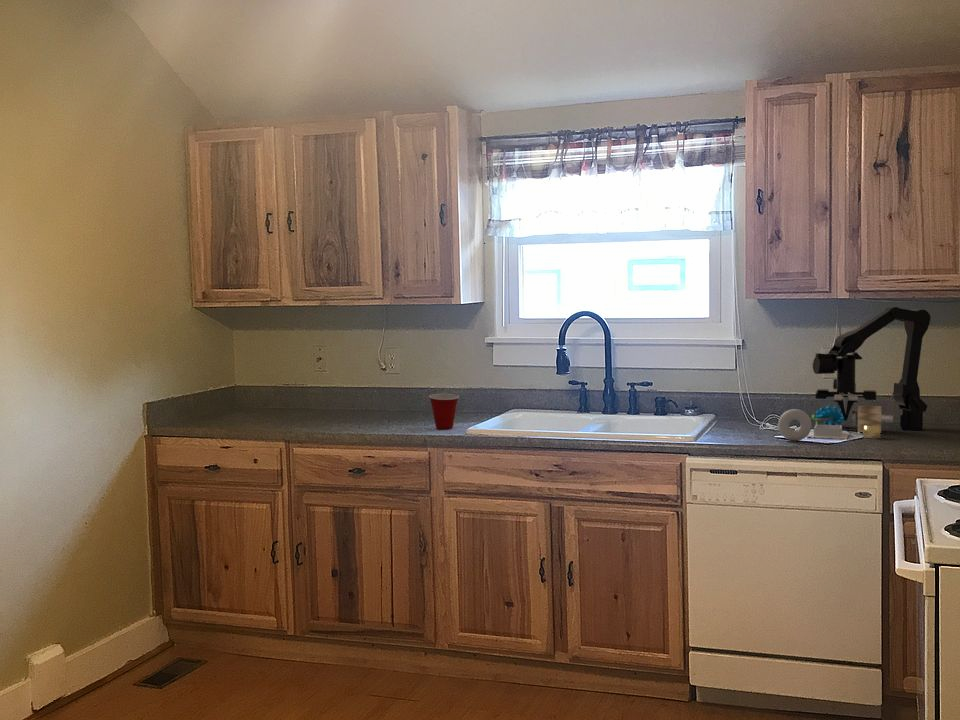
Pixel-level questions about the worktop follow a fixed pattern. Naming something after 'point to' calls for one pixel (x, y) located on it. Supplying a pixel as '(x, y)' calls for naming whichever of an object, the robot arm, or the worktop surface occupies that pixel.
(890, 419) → the shaft
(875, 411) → the bearing block
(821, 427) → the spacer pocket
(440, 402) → the plastic cup
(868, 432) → the cylinder
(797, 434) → the donut
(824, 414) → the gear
